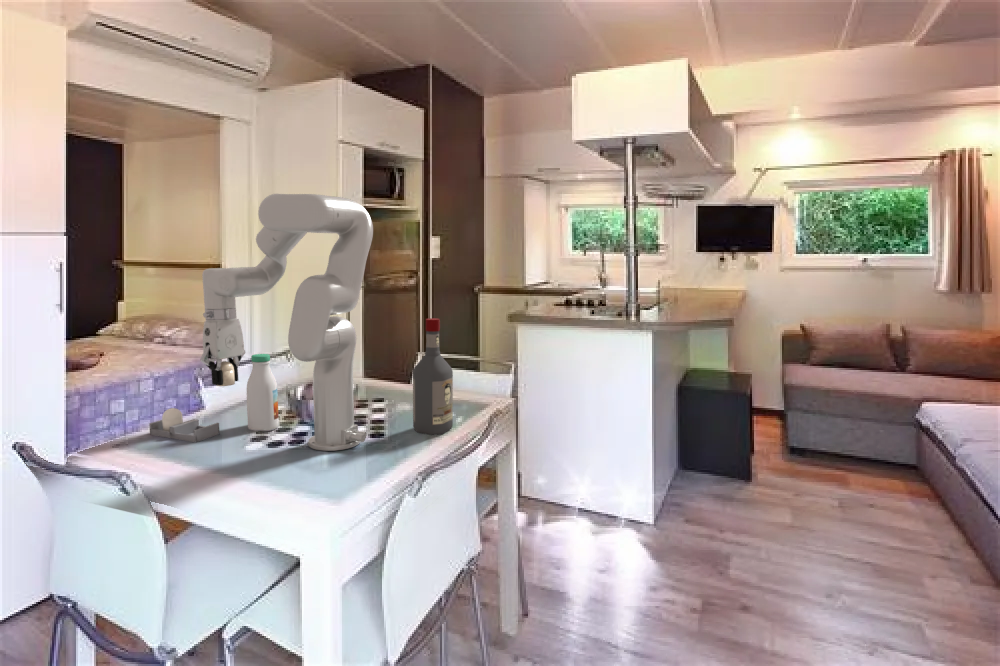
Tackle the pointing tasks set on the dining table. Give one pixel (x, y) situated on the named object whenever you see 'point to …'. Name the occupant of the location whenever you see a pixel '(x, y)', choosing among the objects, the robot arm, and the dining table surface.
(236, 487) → the dining table surface
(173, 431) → the egg carton
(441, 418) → the liquor
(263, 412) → the milk bottle
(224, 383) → the tan egg
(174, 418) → the cream egg
